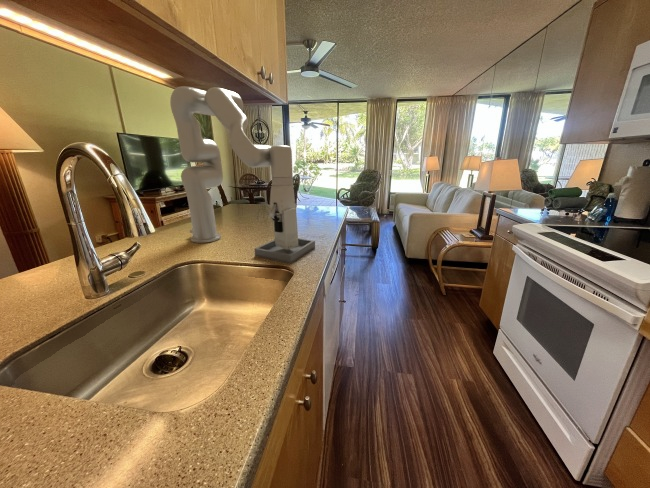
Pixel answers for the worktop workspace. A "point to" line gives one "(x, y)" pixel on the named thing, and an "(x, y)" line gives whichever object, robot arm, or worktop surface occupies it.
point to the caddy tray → (284, 251)
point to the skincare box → (287, 230)
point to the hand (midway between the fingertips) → (285, 228)
